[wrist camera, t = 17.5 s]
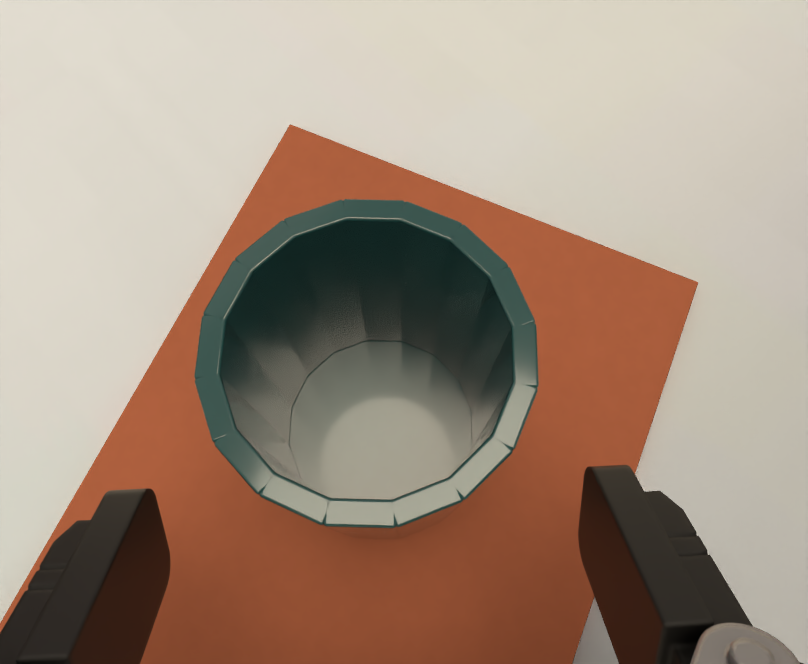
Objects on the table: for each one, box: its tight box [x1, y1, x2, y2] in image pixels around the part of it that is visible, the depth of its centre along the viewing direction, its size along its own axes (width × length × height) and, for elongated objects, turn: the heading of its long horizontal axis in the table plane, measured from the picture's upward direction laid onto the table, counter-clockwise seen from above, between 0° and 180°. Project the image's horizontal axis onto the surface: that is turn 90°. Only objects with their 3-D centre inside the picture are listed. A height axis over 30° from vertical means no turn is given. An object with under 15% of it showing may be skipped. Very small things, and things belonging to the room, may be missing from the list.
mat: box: [0, 125, 698, 664], centre depth 19 cm, size 20×14×1 cm
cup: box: [194, 199, 539, 540], centre depth 16 cm, size 6×6×8 cm
